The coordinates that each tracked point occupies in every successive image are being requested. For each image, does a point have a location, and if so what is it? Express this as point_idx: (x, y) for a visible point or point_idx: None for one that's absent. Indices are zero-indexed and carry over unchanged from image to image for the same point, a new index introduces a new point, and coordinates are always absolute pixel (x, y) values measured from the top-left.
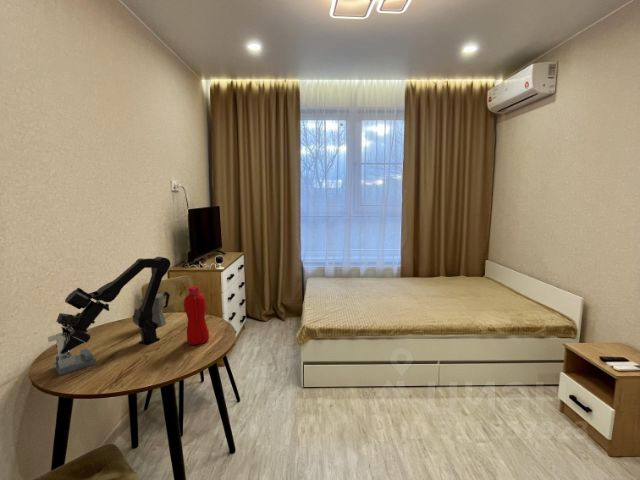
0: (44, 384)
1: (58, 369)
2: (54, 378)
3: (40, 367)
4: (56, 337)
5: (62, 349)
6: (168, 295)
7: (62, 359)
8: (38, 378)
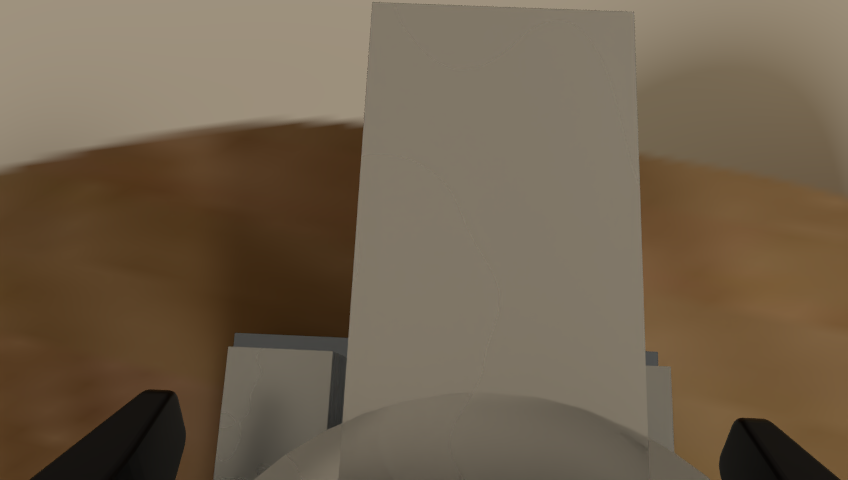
0: (163, 157)
1: (287, 337)
2: (232, 274)
3: (786, 231)
4: (347, 394)
5: (102, 448)
6: None
7: (294, 420)
8: None
